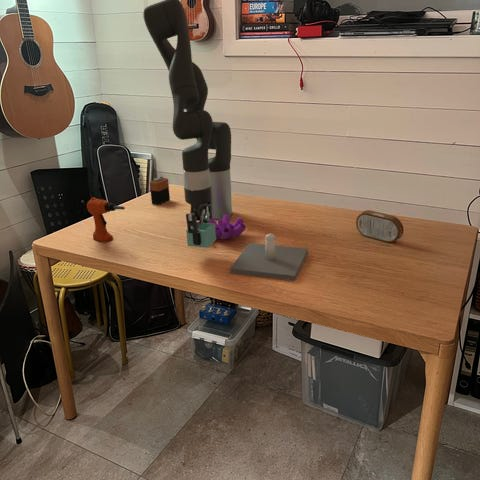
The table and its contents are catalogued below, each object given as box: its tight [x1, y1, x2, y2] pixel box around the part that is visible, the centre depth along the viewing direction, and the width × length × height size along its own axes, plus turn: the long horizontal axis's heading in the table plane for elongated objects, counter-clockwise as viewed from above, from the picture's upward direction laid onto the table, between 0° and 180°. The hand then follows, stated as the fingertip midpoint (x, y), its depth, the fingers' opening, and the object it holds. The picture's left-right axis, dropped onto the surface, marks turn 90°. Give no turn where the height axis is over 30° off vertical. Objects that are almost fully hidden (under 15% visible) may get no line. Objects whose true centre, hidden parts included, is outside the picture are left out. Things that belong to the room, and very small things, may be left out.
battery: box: [149, 175, 171, 206], centre depth 190 cm, size 4×7×10 cm, turn 152°
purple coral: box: [210, 215, 247, 240], centre depth 155 cm, size 11×15×10 cm
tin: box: [355, 209, 404, 244], centre depth 150 cm, size 15×3×8 cm, turn 47°
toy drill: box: [86, 197, 126, 243], centre depth 153 cm, size 5×18×14 cm, turn 53°
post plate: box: [229, 233, 309, 282], centre depth 136 cm, size 18×18×9 cm
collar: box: [185, 223, 217, 249], centre depth 141 cm, size 6×6×5 cm
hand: (201, 239), depth 141 cm, fingers closed on collar, 6 cm apart
